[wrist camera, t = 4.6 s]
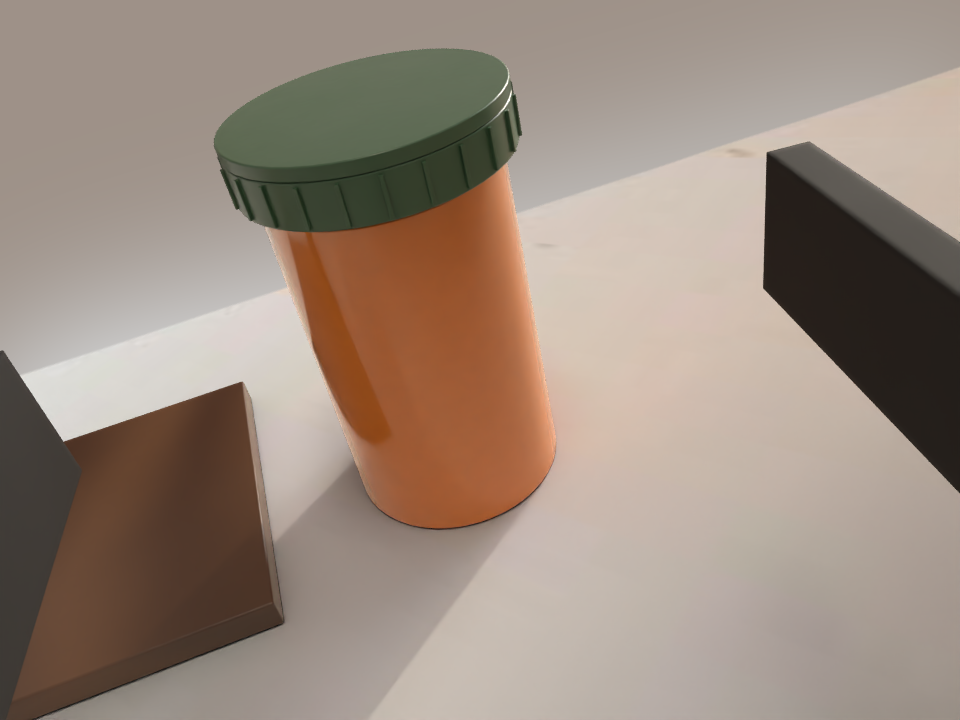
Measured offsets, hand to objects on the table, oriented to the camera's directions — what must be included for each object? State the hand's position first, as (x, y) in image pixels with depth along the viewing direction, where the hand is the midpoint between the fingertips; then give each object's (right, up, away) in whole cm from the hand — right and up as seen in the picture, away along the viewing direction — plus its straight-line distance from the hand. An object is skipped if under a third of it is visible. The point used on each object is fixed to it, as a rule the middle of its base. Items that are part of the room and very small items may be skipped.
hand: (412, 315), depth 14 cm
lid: (-2, +6, +8) cm, 10 cm away
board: (-14, -8, +14) cm, 21 cm away
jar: (0, -4, +15) cm, 16 cm away
